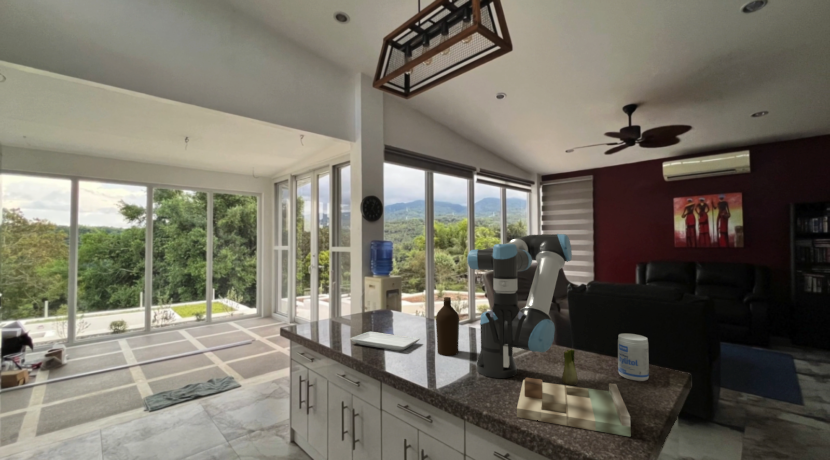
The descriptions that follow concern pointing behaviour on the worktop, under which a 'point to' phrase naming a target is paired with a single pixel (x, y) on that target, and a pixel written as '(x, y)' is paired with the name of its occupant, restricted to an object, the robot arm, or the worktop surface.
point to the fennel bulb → (569, 369)
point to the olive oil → (447, 329)
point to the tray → (385, 340)
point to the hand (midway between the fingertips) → (506, 365)
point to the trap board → (578, 408)
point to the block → (533, 388)
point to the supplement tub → (633, 357)
